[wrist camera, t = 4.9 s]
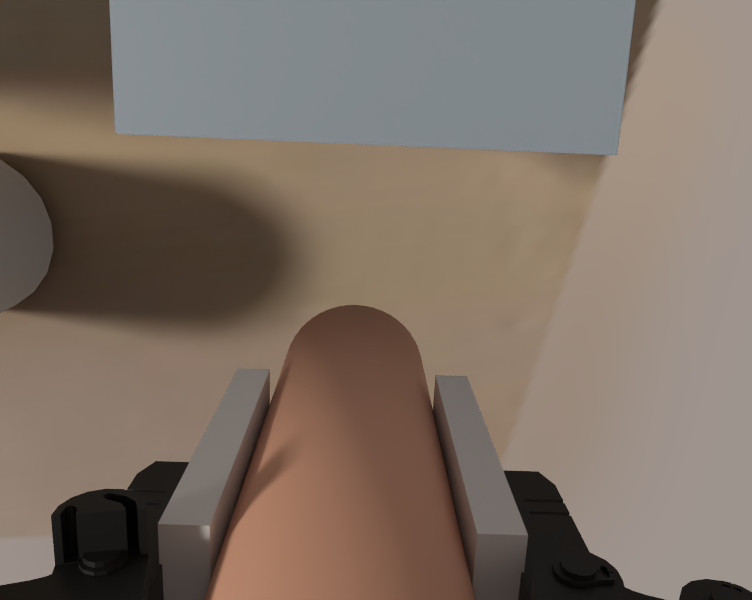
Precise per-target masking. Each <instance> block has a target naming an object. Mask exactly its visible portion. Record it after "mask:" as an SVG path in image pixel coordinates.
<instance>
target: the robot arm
mask: <svg viewBox="0 0 752 600" xmlns="http://www.w3.org/2000/svg"><path fill="white" fill-rule="evenodd" d="M269 406H270V369H241V368H238V369H237V371H236V373H235V375H234V377H233V379H232V381H231V382H230V384H229V386H228V388H227V390H226V392H225V394H224V396H223V398H222V400H221V402H220V404H219V406H218V408H217V410H216V412H215V414H214V416H213V417H212V419H211V421H210V423H209V425H208V427H207V429H206V431H205V433H204V435H203V437H202V439H201V441H200V443H199V445H198V447H197V449H196V451H195V452H194V454H193V456H192V458H191V460H190V462H163V461H156V462H154V463H153V464H151V465H150V466H148V467H147V468H145V469H144V470H142V471H141V472H139V473H138V474H137V475H136V476H135V478H134V479H133V481H132V483H131V484H130V486H129V487H128V489H127V490H124V489H102V490H96V491H90V492H86V493H83V494H81V495H78V496H75V497H72V498H70V499H69V500H67V501H66V502H64V503H62V504H61V505H59V506H58V507H57V509H56V510H55V511H54V512H53V514H52V515H51V520H52V532H53V544H54V555H55V567H54V570H53V573H52V574H51V575H49V576H46V577H42V578H38V579H34V580H30V581H24V582H19V583H12V584H7V585H1V586H0V600H204V598H205V595H206V592H207V589H208V586H209V583H210V580H211V577H212V574H213V571H214V568H215V565H216V562H217V559H218V556H219V553H220V550H221V548H222V545H223V542H224V539H225V536H226V533H227V530H228V527H229V524H230V521H231V518H232V515H233V512H234V509H235V506H236V503H237V500H238V497H239V494H240V492H241V489H242V486H243V483H244V480H245V477H246V474H247V471H248V468H249V465H250V462H251V459H252V456H253V453H254V450H255V447H256V444H257V441H258V439H259V436H260V433H261V430H262V427H263V424H264V421H265V418H266V415H267V412H268V409H269ZM433 414H434V418H435V422H436V427H437V431H438V436H439V440H440V445H441V449H442V454H443V458H444V463H445V467H446V471H447V476H448V480H449V485H450V489H451V494H452V498H453V503H454V507H455V512H456V516H457V520H458V525H459V529H460V534H461V538H462V543H463V547H464V552H465V556H466V561H467V565H468V569H469V574H470V578H471V583H472V587H473V592H474V596H475V600H664V599H660V598H656V597H652V596H647V595H644V594H641V593H637V592H635V591H632V590H630V589H627V588H625V587H624V584H623V580H622V578H621V576H620V575H619V573H618V571H617V570H616V569H615V568H614V567H613V566H612V565H611V564H609V563H608V562H607V561H606V560H604V559H602V558H600V557H598V556H596V555H594V554H592V553H590V552H589V551H588V548H587V547H586V545H585V543H584V541H583V539H582V537H581V535H580V533H579V531H578V529H577V527H576V525H575V523H574V521H573V519H572V517H571V516H569V511H568V509H567V507H566V506H565V504H564V503H563V499H562V498H561V496H560V494H559V492H558V490H557V488H556V486H555V485H554V484H553V483H552V482H550V481H549V480H548V479H547V478H545V477H544V476H543V475H542V474H540V473H539V472H530V471H503V469H502V466H501V463H500V461H499V458H498V456H497V453H496V450H495V448H494V445H493V443H492V440H491V437H490V435H489V432H488V430H487V427H486V424H485V422H484V419H483V417H482V414H481V411H480V409H479V406H478V404H477V401H476V398H475V396H474V393H473V391H472V388H471V385H470V383H469V380H468V378H467V376H440V375H435V390H434V405H433ZM679 600H752V592H750V591H748V590H746V589H745V588H743V587H741V586H738V585H736V584H731V583H729V582H725V581H717V580H710V579H703V580H696V581H691V582H690V583H688V584H687V585H685V586H684V587H682V590H681V595H680V598H679Z"/></svg>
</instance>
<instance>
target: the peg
mask: <svg viewBox="0 0 752 600" xmlns="http://www.w3.org/2000/svg"><path fill="white" fill-rule="evenodd" d="M204 600H475V596H474V592H473V587H472V583H471V578H470V574H469V569H468V565H467V561H466V556H465V552H464V547H463V543H462V538H461V534H460V529H459V525H458V520H457V516H456V512H455V507H454V503H453V498H452V494H451V489H450V485H449V480H448V476H447V471H446V467H445V463H444V458H443V454H442V449H441V445H440V440H439V436H438V431H437V427H436V422H435V418H434V414H433V409H432V405H431V400H430V396H429V391H428V387H427V382H426V378H425V373H424V369H423V365H422V360H421V356H420V352H419V349H418V347H417V344H416V342H415V340H414V339H413V337H412V335H411V334H410V332H409V331H408V330H407V329H406V328H405V326H403V325H402V324H401V323H400V322H399V321H398V320H397V319H395V318H394V317H392V316H391V315H389V314H387V313H385V312H383V311H381V310H378V309H375V308H372V307H367V306H360V305H346V306H340V307H335V308H332V309H329V310H326V311H324V312H322V313H320V314H318V315H317V316H315V317H313V318H312V319H311V320H309V321H308V322H307V323H306V324H305V325H304V326H303V327H302V328H301V329H300V330H299V332H298V333H297V334H296V336H295V337H294V339H293V341H292V343H291V345H290V348H289V350H288V353H287V356H286V359H285V362H284V365H283V368H282V371H281V374H280V377H279V380H278V383H277V385H276V388H275V391H274V394H273V397H272V400H271V403H270V406H269V409H268V412H267V415H266V418H265V421H264V424H263V427H262V430H261V433H260V436H259V439H258V441H257V444H256V447H255V450H254V453H253V456H252V459H251V462H250V465H249V468H248V471H247V474H246V477H245V480H244V483H243V486H242V489H241V492H240V494H239V497H238V500H237V503H236V506H235V509H234V512H233V515H232V518H231V521H230V524H229V527H228V530H227V533H226V536H225V539H224V542H223V545H222V548H221V550H220V553H219V556H218V559H217V562H216V565H215V568H214V571H213V574H212V577H211V580H210V583H209V586H208V589H207V592H206V595H205V598H204Z"/></svg>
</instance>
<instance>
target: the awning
mask: <svg viewBox="0 0 752 600" xmlns="http://www.w3.org/2000/svg"><path fill="white" fill-rule="evenodd" d="M635 3H636V0H109V6H110V28H111V51H112V73H113V96H114V118H115V134H132V135H156V136H179V137H202V138H225V139H249V140H272V141H295V142H319V143H342V144H365V145H388V146H412V147H435V148H458V149H481V150H505V151H528V152H551V153H575V154H598V155H617V152H618V143H619V135H620V127H621V119H622V110H623V102H624V94H625V86H626V77H627V69H628V61H629V52H630V44H631V36H632V28H633V19H634V11H635Z"/></svg>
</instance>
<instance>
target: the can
mask: <svg viewBox="0 0 752 600" xmlns="http://www.w3.org/2000/svg"><path fill="white" fill-rule="evenodd" d="M52 252H53V236H52V224H51V221H50V218H49V216H48V213H47V211H46V208H45V206H44V204H43V201H42V199H41V197H40V196H39V195H38V193H37V192H36V191H35V190H34V188H33V187H32V186H31V185H30V183H29V182H28V181H27V179H26V178H25V177H24V176H23V175H21V174H20V173H19V172H17V171H16V170H14V169H13V168H12V167H10V166H9V165H7V164H6V163H5V162H3V161H2V160H0V313H1V312H3V311H5V310H7V309H9V308H11V307H13V306H15V305H17V304H18V303H19V302H21V301H22V300H24V299H25V298H26V297H28V296H29V295H30V294H32V293H33V292H34V291H35V290H36V288H37V287H38V286H39V284H40V283H41V281H42V280H43V278H44V277H45V275H46V274H47V272H48V268H49V264H50V260H51V256H52Z"/></svg>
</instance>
